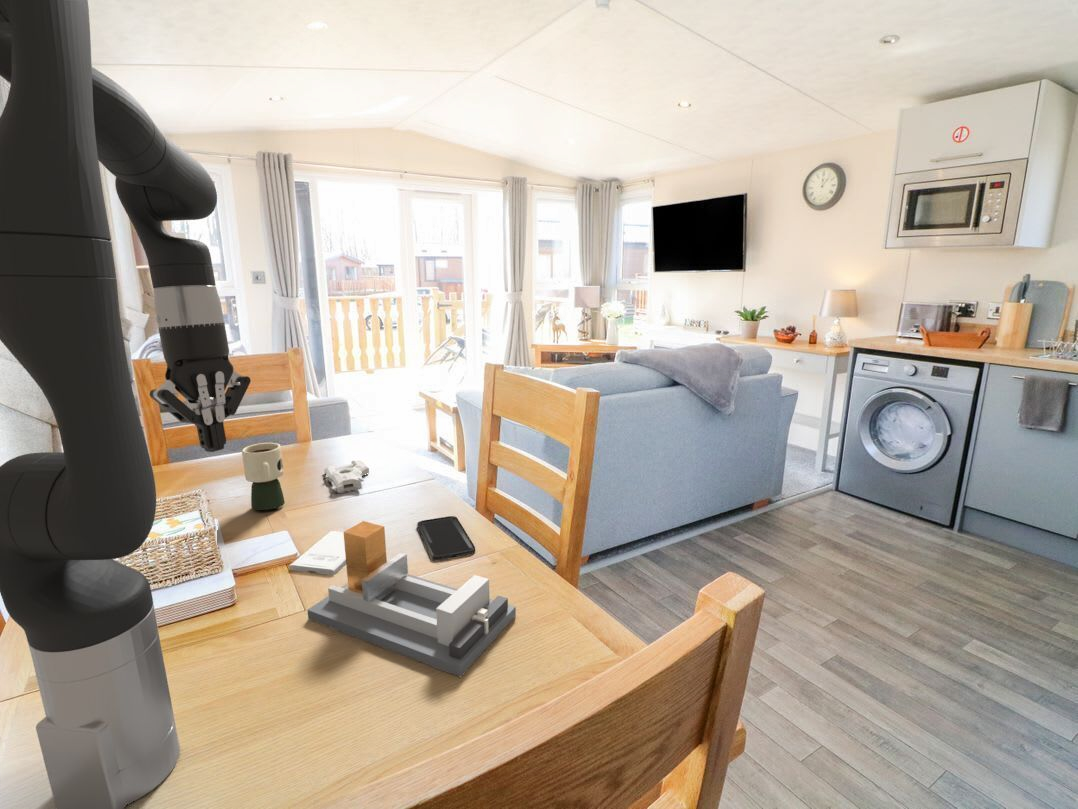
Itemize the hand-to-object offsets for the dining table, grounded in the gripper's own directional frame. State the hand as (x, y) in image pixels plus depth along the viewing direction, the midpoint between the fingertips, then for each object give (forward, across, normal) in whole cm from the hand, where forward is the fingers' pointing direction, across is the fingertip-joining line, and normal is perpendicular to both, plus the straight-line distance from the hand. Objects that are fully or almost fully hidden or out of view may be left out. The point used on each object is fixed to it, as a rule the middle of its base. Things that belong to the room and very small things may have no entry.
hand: (214, 450), depth 78 cm
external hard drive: (+25, +19, +3) cm, 31 cm away
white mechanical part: (+22, +46, +26) cm, 57 cm away
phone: (+26, +32, -11) cm, 43 cm away
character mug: (+21, +26, +29) cm, 45 cm away
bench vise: (+26, +11, -22) cm, 36 cm away
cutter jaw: (+24, +11, -15) cm, 30 cm away
